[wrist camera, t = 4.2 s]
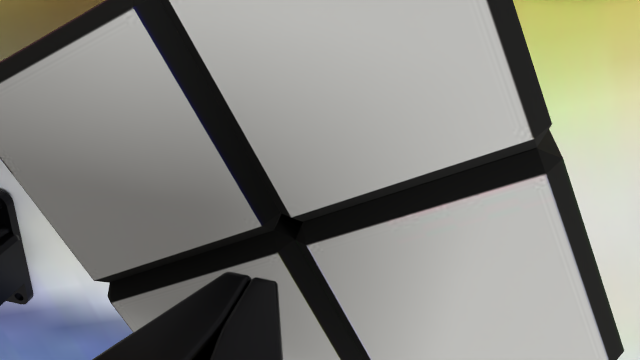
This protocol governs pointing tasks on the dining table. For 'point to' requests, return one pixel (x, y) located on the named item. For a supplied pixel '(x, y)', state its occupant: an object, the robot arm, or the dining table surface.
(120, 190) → the puzzle cube
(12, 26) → the dining table surface
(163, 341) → the robot arm
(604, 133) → the dining table surface
